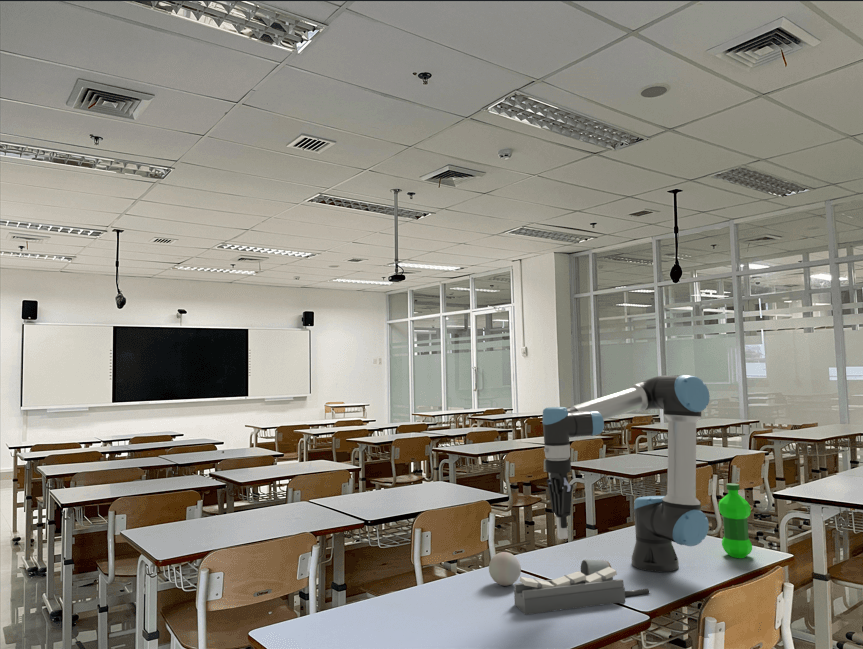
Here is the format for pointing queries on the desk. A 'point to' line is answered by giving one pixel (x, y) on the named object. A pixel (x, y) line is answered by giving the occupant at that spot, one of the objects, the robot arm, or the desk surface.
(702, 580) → the desk surface
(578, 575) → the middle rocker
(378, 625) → the desk surface
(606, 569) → the rocker
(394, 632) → the desk surface
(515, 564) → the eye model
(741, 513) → the plastic bottle
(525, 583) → the end rocker
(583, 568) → the ceramic mug
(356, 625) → the desk surface
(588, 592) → the power strip
